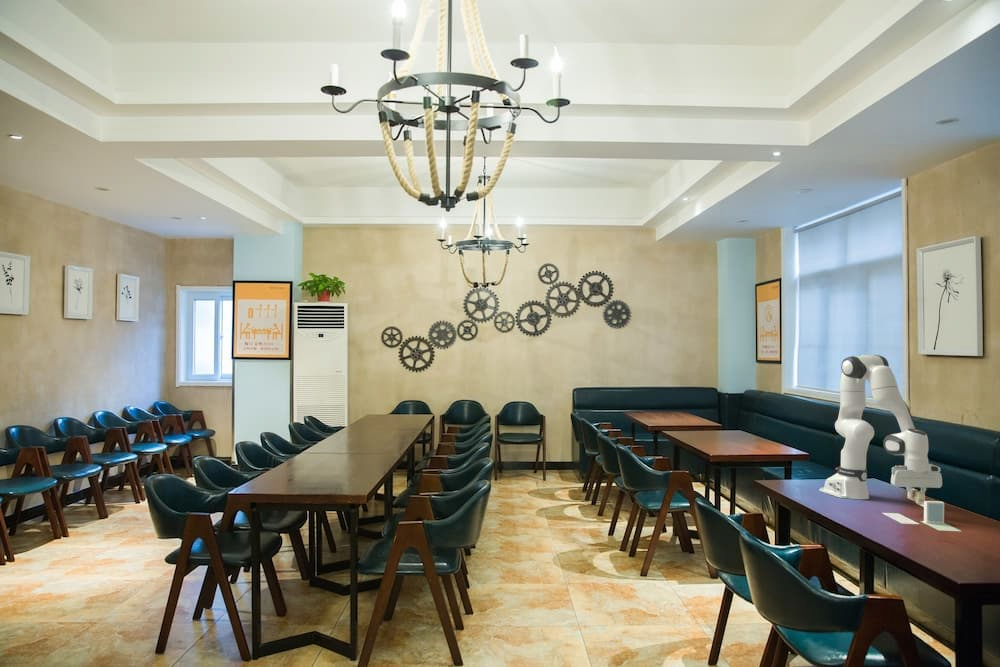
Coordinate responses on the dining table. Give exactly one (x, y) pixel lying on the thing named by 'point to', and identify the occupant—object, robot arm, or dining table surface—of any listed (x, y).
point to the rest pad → (900, 518)
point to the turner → (917, 497)
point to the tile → (934, 512)
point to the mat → (942, 527)
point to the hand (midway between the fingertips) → (916, 496)
